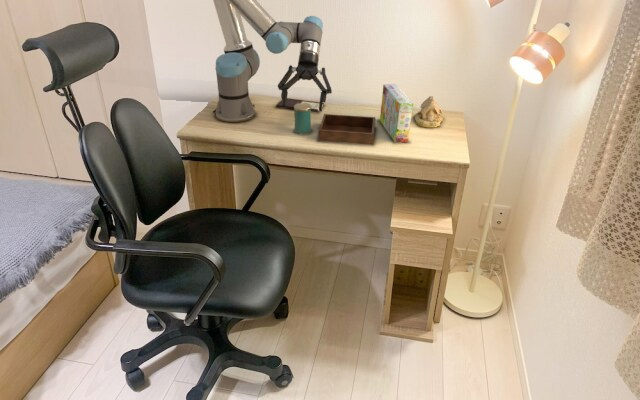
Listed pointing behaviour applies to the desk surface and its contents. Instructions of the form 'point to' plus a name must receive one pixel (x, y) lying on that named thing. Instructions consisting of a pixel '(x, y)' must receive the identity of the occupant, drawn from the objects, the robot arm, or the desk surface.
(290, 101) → the chocolate bar
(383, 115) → the snack box
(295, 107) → the tin
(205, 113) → the desk surface
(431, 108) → the ceramic model
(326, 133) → the dark wooden tray
